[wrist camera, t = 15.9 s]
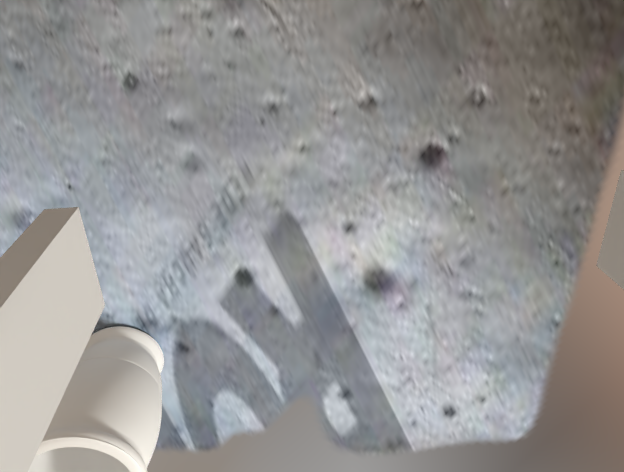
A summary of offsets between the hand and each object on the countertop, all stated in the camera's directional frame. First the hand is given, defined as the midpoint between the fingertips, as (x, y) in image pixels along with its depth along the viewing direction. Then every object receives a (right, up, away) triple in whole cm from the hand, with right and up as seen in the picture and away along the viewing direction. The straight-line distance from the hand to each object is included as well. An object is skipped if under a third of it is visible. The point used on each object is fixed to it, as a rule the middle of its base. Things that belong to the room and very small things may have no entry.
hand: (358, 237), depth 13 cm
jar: (-21, -13, +40) cm, 47 cm away
